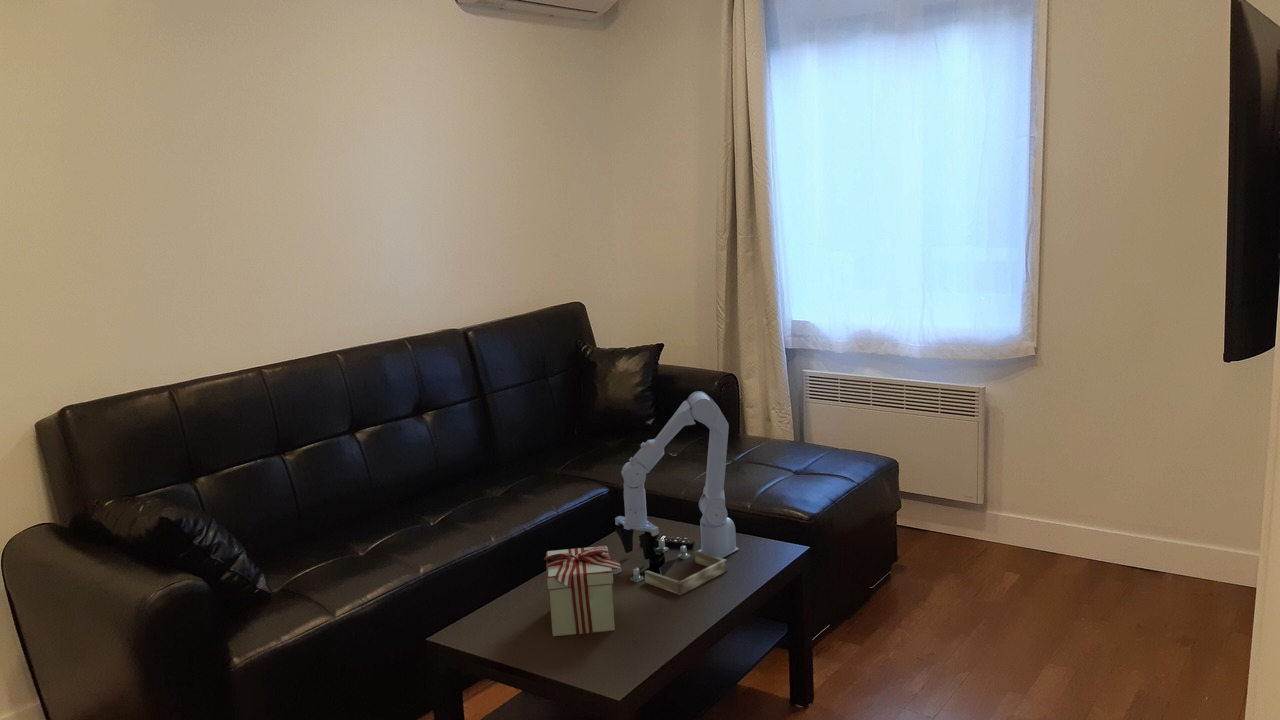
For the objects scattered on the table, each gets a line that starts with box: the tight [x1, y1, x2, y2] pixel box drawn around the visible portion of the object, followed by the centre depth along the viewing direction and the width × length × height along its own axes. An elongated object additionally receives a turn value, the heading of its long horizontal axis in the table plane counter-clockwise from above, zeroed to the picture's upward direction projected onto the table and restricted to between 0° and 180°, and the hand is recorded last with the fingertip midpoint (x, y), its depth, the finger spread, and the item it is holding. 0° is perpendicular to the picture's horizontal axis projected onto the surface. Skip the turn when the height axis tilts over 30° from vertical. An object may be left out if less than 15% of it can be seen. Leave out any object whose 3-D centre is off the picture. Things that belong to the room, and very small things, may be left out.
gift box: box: [543, 545, 622, 637], centre depth 219 cm, size 17×18×17 cm
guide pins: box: [612, 538, 691, 583], centre depth 250 cm, size 20×10×3 cm, turn 135°
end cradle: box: [644, 550, 728, 596], centre depth 241 cm, size 18×12×3 cm, turn 135°
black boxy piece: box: [639, 548, 678, 577], centre depth 249 cm, size 12×7×5 cm, turn 159°
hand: (638, 554), depth 253 cm, fingers open, 7 cm apart
